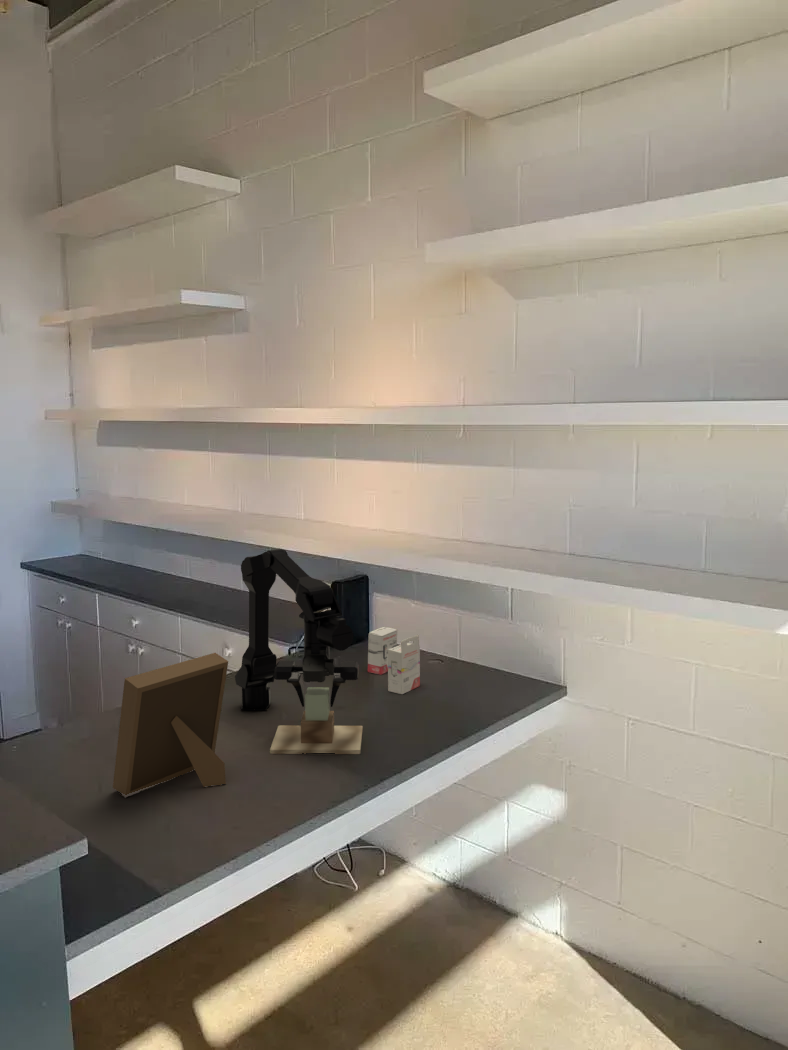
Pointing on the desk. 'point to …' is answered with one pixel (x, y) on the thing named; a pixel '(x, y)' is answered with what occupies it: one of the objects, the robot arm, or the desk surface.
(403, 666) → the ink cartridge box
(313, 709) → the sage block
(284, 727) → the base plate
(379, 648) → the ink box
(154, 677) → the photo frame
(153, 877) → the desk surface
